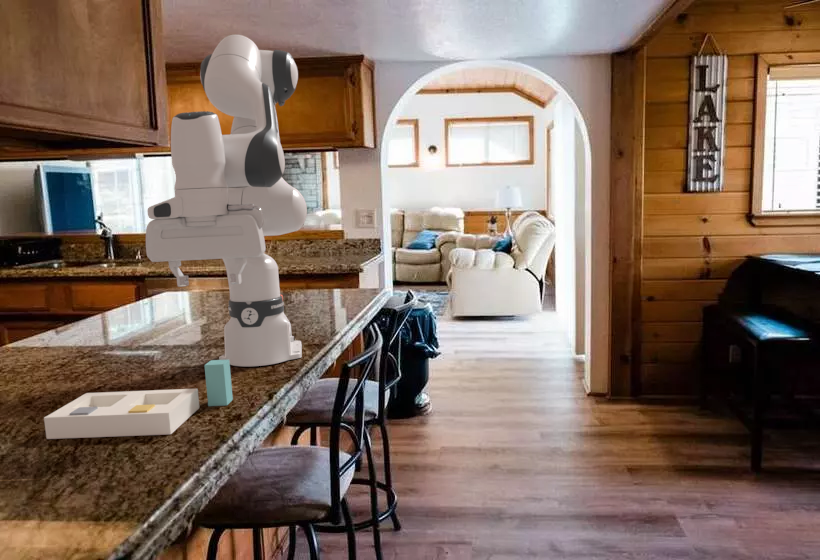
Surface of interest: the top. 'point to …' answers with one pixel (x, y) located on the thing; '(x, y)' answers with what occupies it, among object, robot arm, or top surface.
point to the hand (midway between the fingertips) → (209, 285)
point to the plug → (218, 382)
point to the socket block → (122, 414)
